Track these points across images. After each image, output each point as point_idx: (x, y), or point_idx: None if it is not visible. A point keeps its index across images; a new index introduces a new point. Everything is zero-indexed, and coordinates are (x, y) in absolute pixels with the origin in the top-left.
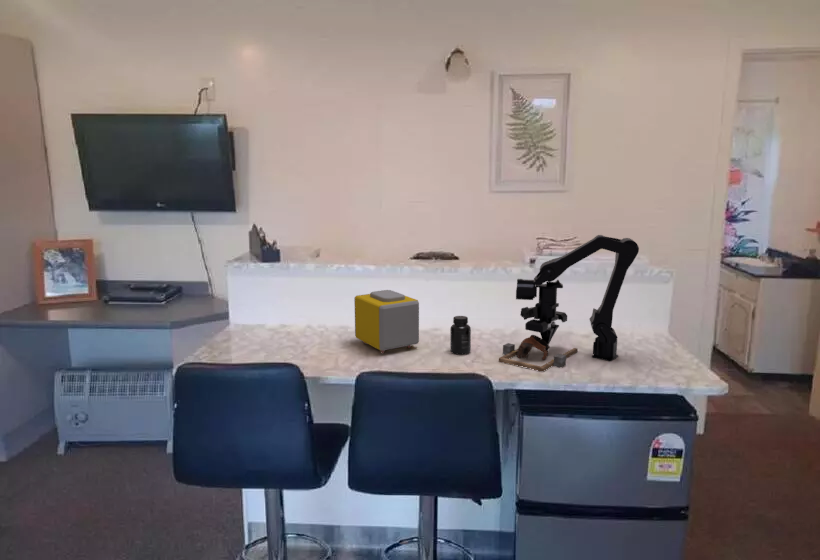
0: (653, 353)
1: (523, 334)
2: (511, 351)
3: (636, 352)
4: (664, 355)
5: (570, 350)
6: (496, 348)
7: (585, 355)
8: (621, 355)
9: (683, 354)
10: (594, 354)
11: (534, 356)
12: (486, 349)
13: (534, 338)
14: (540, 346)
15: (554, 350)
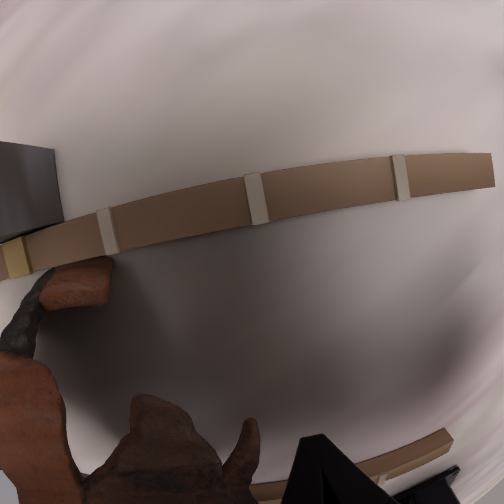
0: (488, 479)
1: (495, 12)
2: (4, 240)
3: (488, 470)
4: (479, 490)
5: (399, 468)
6: (82, 23)
7: (405, 477)
8: (453, 487)
9: (492, 486)
10: (407, 498)
11: (158, 382)
12: (30, 25)
13: (135, 499)
14: None
15: (412, 374)
